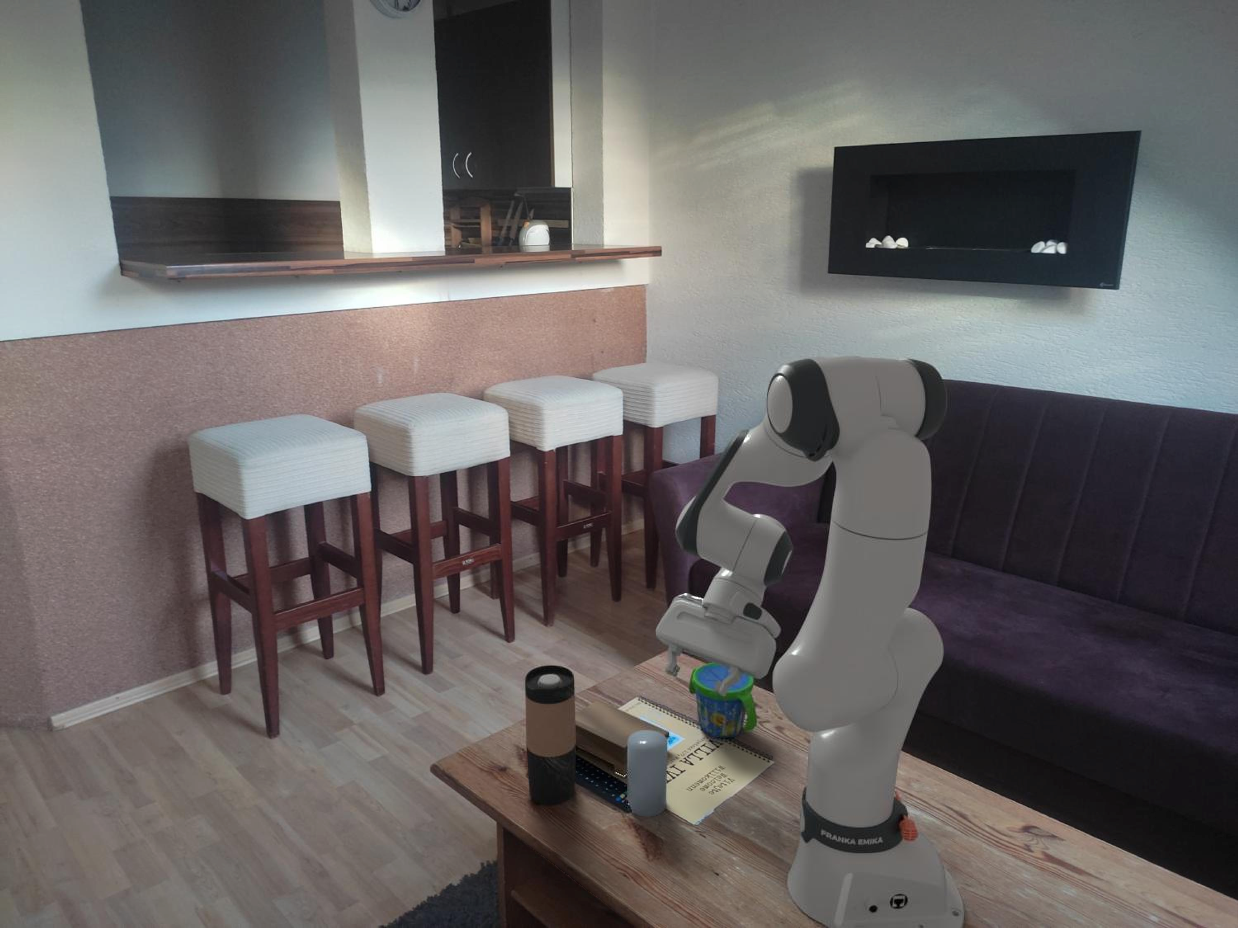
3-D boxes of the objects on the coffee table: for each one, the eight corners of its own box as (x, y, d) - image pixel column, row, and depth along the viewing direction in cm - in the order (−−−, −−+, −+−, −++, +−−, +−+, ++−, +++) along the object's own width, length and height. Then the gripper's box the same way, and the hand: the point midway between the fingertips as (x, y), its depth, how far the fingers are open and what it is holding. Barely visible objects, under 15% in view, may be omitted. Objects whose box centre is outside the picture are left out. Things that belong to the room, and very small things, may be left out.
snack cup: (772, 742, 154) (775, 689, 151) (721, 759, 149) (723, 705, 146) (720, 699, 167) (722, 650, 164) (672, 714, 162) (673, 663, 159)
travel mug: (579, 777, 144) (578, 665, 138) (572, 807, 137) (570, 691, 131) (532, 774, 145) (529, 663, 139) (523, 804, 137) (519, 688, 132)
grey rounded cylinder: (666, 792, 140) (668, 730, 137) (665, 817, 134) (666, 753, 131) (628, 790, 141) (629, 729, 138) (625, 815, 135) (626, 751, 132)
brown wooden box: (597, 714, 162) (597, 684, 160) (668, 747, 152) (669, 715, 150) (551, 743, 153) (551, 712, 151) (624, 780, 143) (624, 747, 142)
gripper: (670, 582, 151) (634, 656, 146) (777, 616, 138) (740, 698, 134) (685, 598, 155) (650, 670, 151) (790, 632, 143) (755, 712, 138)
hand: (693, 683), depth 142 cm, fingers open, 8 cm apart
